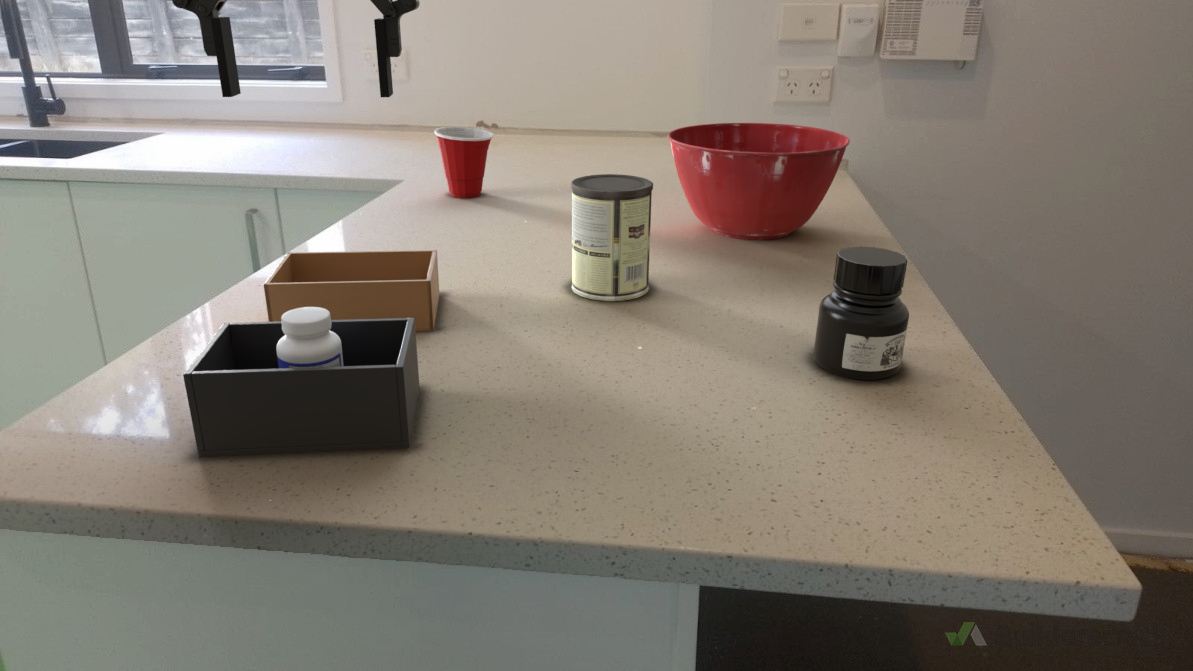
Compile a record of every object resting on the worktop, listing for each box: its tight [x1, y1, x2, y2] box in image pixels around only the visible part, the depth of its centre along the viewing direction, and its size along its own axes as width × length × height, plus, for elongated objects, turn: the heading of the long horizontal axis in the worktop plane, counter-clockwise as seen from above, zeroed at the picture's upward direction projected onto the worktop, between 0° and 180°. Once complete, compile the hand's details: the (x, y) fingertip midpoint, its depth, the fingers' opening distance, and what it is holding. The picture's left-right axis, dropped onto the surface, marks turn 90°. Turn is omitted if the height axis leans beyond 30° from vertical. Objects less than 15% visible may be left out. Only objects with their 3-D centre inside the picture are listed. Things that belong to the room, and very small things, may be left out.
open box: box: [182, 318, 421, 458], centre depth 74 cm, size 17×11×8 cm, turn 97°
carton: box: [263, 249, 440, 332], centre depth 99 cm, size 18×12×6 cm, turn 97°
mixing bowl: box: [667, 122, 851, 241], centre depth 136 cm, size 28×28×16 cm
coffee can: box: [570, 173, 654, 302], centre depth 108 cm, size 10×10×14 cm
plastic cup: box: [433, 126, 495, 199], centre depth 156 cm, size 11×11×12 cm
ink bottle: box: [813, 245, 910, 381], centre depth 87 cm, size 10×9×12 cm
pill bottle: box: [276, 307, 343, 368], centre depth 74 cm, size 5×5×10 cm
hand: (310, 95), depth 75 cm, fingers open, 13 cm apart
